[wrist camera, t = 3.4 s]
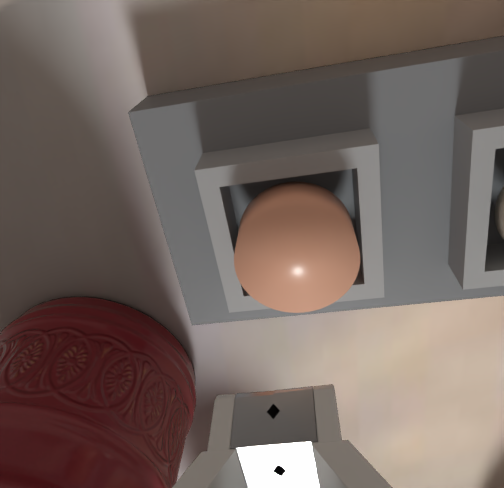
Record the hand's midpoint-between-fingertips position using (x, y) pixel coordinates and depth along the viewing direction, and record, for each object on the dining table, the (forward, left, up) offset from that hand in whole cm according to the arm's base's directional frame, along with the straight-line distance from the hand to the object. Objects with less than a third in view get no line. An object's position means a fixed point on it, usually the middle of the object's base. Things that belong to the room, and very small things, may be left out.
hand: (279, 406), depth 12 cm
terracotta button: (-1, 0, -8) cm, 8 cm away
